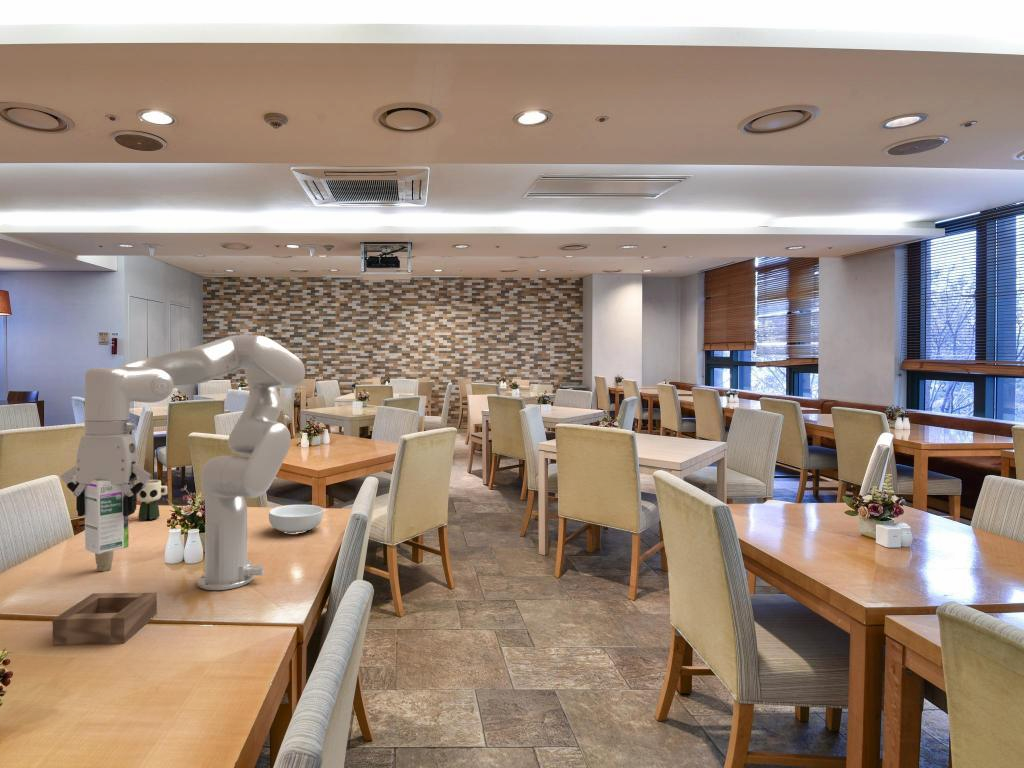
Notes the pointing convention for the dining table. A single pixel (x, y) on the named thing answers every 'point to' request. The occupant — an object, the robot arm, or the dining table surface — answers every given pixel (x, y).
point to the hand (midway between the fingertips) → (106, 514)
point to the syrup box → (105, 517)
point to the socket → (104, 618)
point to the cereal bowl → (295, 517)
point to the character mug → (150, 499)
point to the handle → (104, 561)
